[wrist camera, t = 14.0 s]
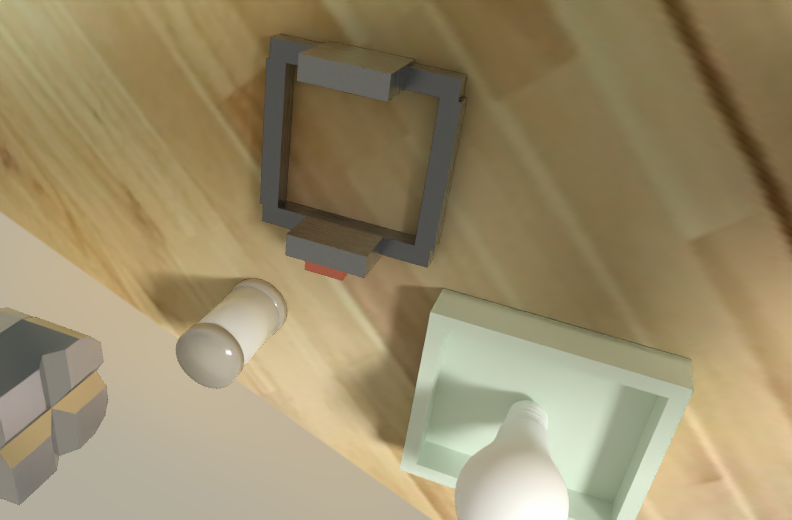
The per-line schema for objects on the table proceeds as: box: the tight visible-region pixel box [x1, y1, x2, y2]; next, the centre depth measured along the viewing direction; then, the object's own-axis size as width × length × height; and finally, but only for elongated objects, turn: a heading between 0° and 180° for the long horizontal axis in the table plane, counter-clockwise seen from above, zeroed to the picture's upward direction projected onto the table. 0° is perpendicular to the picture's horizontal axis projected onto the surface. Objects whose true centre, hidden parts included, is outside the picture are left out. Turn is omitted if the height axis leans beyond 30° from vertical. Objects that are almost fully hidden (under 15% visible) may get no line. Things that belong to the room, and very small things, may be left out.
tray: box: [400, 288, 694, 520], centre depth 43 cm, size 15×13×3 cm
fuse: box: [176, 278, 287, 389], centre depth 45 cm, size 4×4×7 cm
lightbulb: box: [455, 400, 569, 520], centre depth 39 cm, size 6×6×11 cm
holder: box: [260, 34, 467, 280], centre depth 39 cm, size 11×12×4 cm
